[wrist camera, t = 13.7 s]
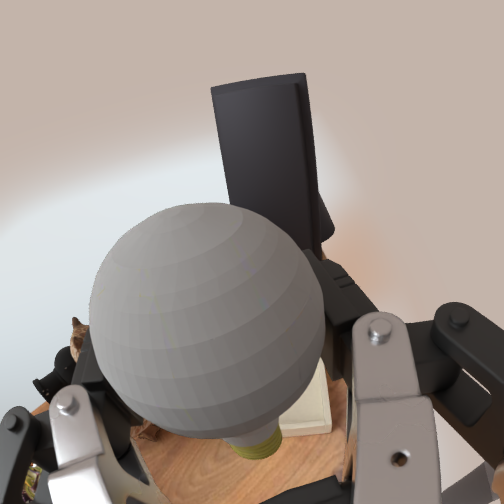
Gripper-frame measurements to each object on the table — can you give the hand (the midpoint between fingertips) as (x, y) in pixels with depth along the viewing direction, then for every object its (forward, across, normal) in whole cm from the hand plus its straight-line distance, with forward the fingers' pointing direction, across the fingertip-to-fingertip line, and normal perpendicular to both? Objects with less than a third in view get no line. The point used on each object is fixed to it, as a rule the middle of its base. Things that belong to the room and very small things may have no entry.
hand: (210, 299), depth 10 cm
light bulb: (-3, 0, +6) cm, 7 cm away
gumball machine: (+12, +28, +19) cm, 35 cm away
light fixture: (+42, -14, +22) cm, 49 cm away
